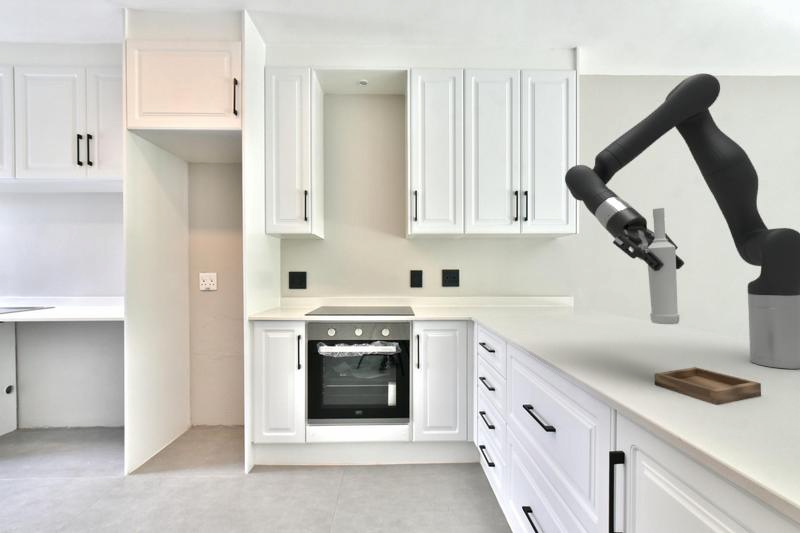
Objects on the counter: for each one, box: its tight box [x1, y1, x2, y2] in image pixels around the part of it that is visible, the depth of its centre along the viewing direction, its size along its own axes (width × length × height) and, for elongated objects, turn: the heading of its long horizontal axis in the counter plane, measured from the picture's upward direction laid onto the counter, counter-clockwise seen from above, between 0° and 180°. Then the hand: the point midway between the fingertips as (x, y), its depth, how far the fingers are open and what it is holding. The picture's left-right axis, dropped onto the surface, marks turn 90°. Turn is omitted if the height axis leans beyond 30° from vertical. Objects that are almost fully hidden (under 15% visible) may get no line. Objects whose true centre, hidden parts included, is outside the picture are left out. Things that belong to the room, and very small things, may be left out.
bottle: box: [647, 207, 680, 325], centre depth 80 cm, size 5×5×25 cm
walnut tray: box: [654, 366, 762, 405], centre depth 74 cm, size 12×12×2 cm
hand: (670, 267), depth 78 cm, fingers closed on bottle, 5 cm apart
